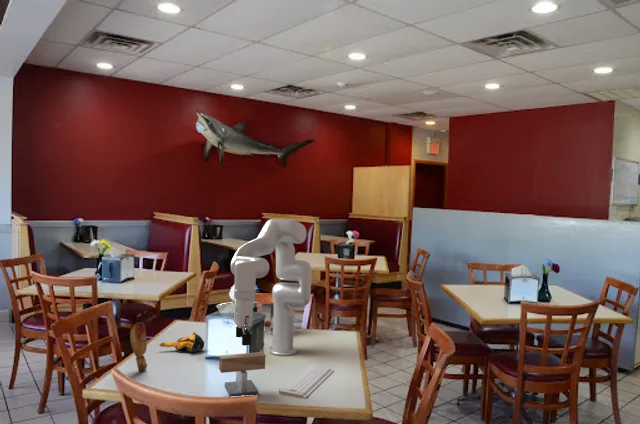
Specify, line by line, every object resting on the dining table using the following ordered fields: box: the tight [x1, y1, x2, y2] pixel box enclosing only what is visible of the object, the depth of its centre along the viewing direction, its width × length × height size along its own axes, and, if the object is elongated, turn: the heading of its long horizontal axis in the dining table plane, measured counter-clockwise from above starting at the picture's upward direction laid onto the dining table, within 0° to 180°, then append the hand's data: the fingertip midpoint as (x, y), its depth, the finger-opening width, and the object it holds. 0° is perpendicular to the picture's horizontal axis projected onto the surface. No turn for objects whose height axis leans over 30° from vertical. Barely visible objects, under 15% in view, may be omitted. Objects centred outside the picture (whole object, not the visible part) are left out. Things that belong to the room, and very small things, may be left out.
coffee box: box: [269, 302, 292, 336], centre depth 259 cm, size 9×6×16 cm
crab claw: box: [129, 321, 148, 372], centre depth 199 cm, size 7×5×20 cm
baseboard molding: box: [278, 364, 335, 399], centre depth 196 cm, size 31×3×12 cm
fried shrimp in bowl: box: [159, 332, 205, 354], centre depth 225 cm, size 9×11×18 cm
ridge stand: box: [224, 371, 260, 397], centre depth 184 cm, size 11×10×8 cm
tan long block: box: [218, 351, 266, 374], centre depth 184 cm, size 4×16×5 cm, turn 112°
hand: (243, 340), depth 184 cm, fingers open, 9 cm apart
